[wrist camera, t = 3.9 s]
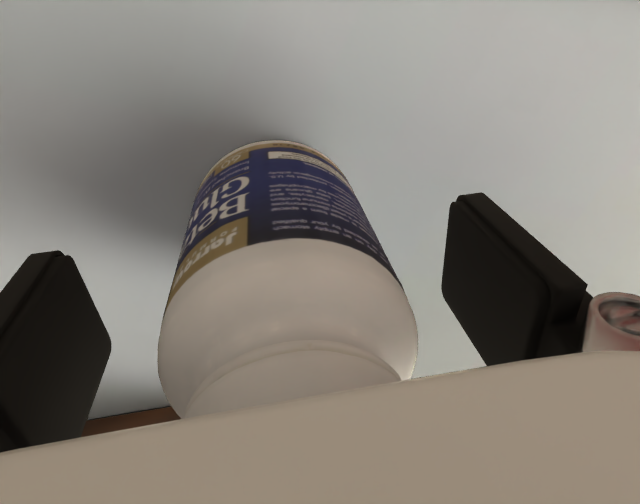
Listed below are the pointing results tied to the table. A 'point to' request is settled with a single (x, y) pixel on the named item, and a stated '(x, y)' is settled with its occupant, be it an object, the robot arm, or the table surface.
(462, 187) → the table surface
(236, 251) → the pill bottle
